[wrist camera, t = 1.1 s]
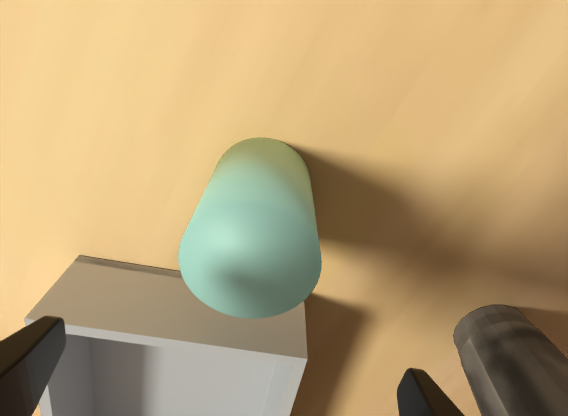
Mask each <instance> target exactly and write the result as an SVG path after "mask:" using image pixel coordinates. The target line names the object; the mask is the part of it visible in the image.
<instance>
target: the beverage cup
mask: <svg viewBox="0 0 568 416" xmlns="http://www.w3.org/2000/svg"><path fill="white" fill-rule="evenodd" d="M453 337H454V343H455V345H456V347H457V349H458V353H459V356H460V359H461V364H462V367H463V369H464V372H465V374H466V377H467V379H468V382H469V385H470V387H471V390H472V392H473V395H474V397H475V400H476V402H477V405H478V408H479V410H480V413H481V415H482V416H568V359H567V358H566V357H565V356H564V355H563V354H562V353H561V352H560V351H559V350H558V349H557V348H556V347H555V346H554V345H553V343H552V342H551V341H550V340H549V339H548V338H547V337H546V336H545V335H544V334H543V333H542V332H541V331H540V330H539V329H537V328H536V327H535V326H534V325H533V324H532V323H531V322H530V321H528V320H527V319H526V318H525V317H524V316H523V314H522V313H521V312H519V311H518V310H517V309H515V308H513V307H510V306H506V305H490V306H486V307H481V308H479V309H477V310H475V311H473V312H470V313H469V314H468V315H466V316H465V317H464V318H463V319H461V321H460V322H459V323H458V325H457V326H456V328H455V331H454V335H453Z"/></svg>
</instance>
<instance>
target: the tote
mask: <svg viewBox="0 0 568 416" xmlns="http://www.w3.org/2000/svg"><path fill="white" fill-rule="evenodd" d="M46 315H51V316H57V317H62V318H63V319H64V322H65V332H66V346H65V349H64V351H63V353H62V355H61V357H60V359H59V362H58V364H57V366H56V368H55V370H54V372H53V374H52V376H51V378H50V380H49V382H48V384H47V386H46V388H45V390H44V393H43V395H42V397H41V399H40V401H39V406H40V412H41V416H290V413H291V410H292V407H293V403H294V400H295V397H296V394H297V391H298V388H299V385H300V382H301V378H302V375H303V372H304V369H305V366H306V363H307V360H308V356H307V339H306V322H305V305H304V301H303V302H302V303H300V304H299V305H298V306H296V307H295V308H293V309H291V310H289V311H287V312H285V313H283V314H280V315H276V316H273V317H268V318H259V319H247V318H239V317H234V316H230V315H227V314H224V313H221V312H219V311H216V310H214V309H213V308H211V307H209V306H207V305H206V304H205V303H203V302H202V301H201V300H199V299H198V298H197V297H196V296H195V295H194V294H193V293H192V291H191V290H190V289H189V287H188V286H187V285H186V283H185V281H184V279H183V277H182V274H181V271H175V270H168V269H162V268H156V267H149V266H143V265H137V264H130V263H124V262H118V261H111V260H105V259H99V258H92V257H86V256H80V255H79V256H78V257H77V259H76V260H75V261H74V262H73V263H72V264H71V265H70V267H69V268H68V269H67V270H66V271H65V272H64V273H63V275H62V276H61V277H60V278H59V279H58V280H57V282H56V283H55V284H54V285H53V286H52V287H51V288H50V290H49V291H48V292H47V293H46V294H45V295H44V296H43V298H42V299H41V300H40V301H39V302H38V303H37V305H36V306H35V307H34V308H33V309H32V310H31V311H30V313H29V314H28V315H27V316H26V317H25V318H24V319H25V325H26V326H27V325H29V324H31V323H32V322H34V321H36V320H38V319H39V318H41V317H43V316H46Z"/></svg>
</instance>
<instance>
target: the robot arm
mask: <svg viewBox="0 0 568 416" xmlns="http://www.w3.org/2000/svg"><path fill="white" fill-rule="evenodd" d="M65 346H66V332H65V322H64V319H63V318H62V317H57V316H51V315H46V316H43V317H41V318H39V319H38V320H36V321H34V322H32V323H31V324H29V325H27V326H26V327H24V328H22V329H21V330H19V331H17V332H15V333H14V334H12V335H10V336H9V337H7V338H5V339H4V340H2V341H0V416H32V414H33V412H34V411H35V409H36V407H37V405H38V403H39V401H40V399H41V397H42V395H43V393H44V390H45V388H46V386H47V384H48V382H49V380H50V378H51V376H52V374H53V372H54V370H55V368H56V366H57V364H58V362H59V359H60V357H61V355H62V353H63V351H64V349H65ZM397 400H398V408H399V416H464V415H463V413H462V412H461V411H460V410H459V409H458V408H457V407H456V406H455V404H454V403H453V402H452V401H451V400H450V399H449V398H448V397H447V395H446V394H445V393H444V392H443V391H442V390H441V389H440V387H439V386H438V385H437V384H436V383H435V382H434V381H433V380H432V378H431V377H430V376H429V375H428V374H427V373H426V372H425V371H424V370H421V369H415V368H408V369H407V370H406V372H405V374H404V376H403V378H402V380H401V382H400V384H399V386H398V389H397Z"/></svg>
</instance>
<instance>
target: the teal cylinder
mask: <svg viewBox="0 0 568 416" xmlns="http://www.w3.org/2000/svg"><path fill="white" fill-rule="evenodd" d="M178 257H179V267H180V271H181V274H182V277H183V279H184V281H185V283H186V285H187V286H188V287H189V289H190V290H191V291H192V293H193V294H194V295H195V296H196V297H197V298H198V299H199V300H201V301H202V302H203V303H205V304H206V305H207V306H209V307H211V308H213V309H214V310H216V311H219V312H221V313H224V314H227V315H230V316H234V317H239V318H247V319H259V318H268V317H273V316H276V315H280V314H283V313H285V312H287V311H289V310H291V309H293V308H295V307H296V306H298V305H299V304H300V303H302V302H303V301H304V300H305V299H306V298H307V297H308V296H309V295H310V294H311V292H312V291H313V290H314V288H315V286H316V284H317V282H318V279H319V277H320V272H321V262H322V261H321V252H320V245H319V238H318V231H317V224H316V217H315V209H314V202H313V195H312V188H311V181H310V175H309V171H308V168H307V166H306V164H305V162H304V160H303V159H302V157H301V156H300V155H299V154H298V153H297V152H296V151H295V150H294V149H293V148H291V147H290V146H288V145H287V144H285V143H283V142H280V141H278V140H274V139H270V138H251V139H247V140H244V141H241V142H239V143H237V144H235V145H234V146H232V147H231V148H230V149H228V150H227V151H226V152H225V153H224V154H223V156H222V157H221V159H220V160H219V162H218V164H217V166H216V168H215V170H214V172H213V175H212V177H211V179H210V181H209V183H208V185H207V187H206V189H205V191H204V193H203V196H202V198H201V200H200V202H199V204H198V206H197V208H196V210H195V212H194V215H193V217H192V219H191V221H190V223H189V225H188V227H187V229H186V231H185V234H184V236H183V238H182V240H181V243H180V247H179V253H178Z"/></svg>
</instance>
